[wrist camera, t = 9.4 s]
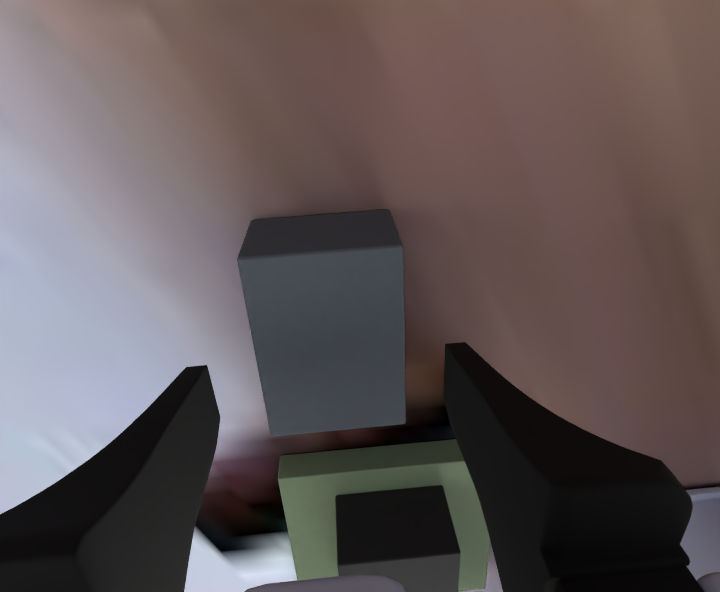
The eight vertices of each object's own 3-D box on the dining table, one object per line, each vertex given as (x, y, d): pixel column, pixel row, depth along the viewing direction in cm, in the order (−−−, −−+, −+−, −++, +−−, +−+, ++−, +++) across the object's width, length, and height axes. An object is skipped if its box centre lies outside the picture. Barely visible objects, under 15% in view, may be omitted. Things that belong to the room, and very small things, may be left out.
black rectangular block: (443, 484, 23) (461, 552, 20) (439, 578, 26) (454, 648, 23) (334, 494, 23) (337, 565, 20) (345, 587, 26) (349, 659, 23)
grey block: (389, 208, 18) (403, 244, 15) (394, 369, 21) (406, 425, 18) (250, 219, 18) (235, 258, 15) (277, 379, 21) (270, 437, 18)
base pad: (490, 435, 24) (499, 457, 22) (478, 564, 28) (485, 589, 27) (279, 455, 23) (277, 478, 22) (303, 582, 28) (302, 608, 27)
